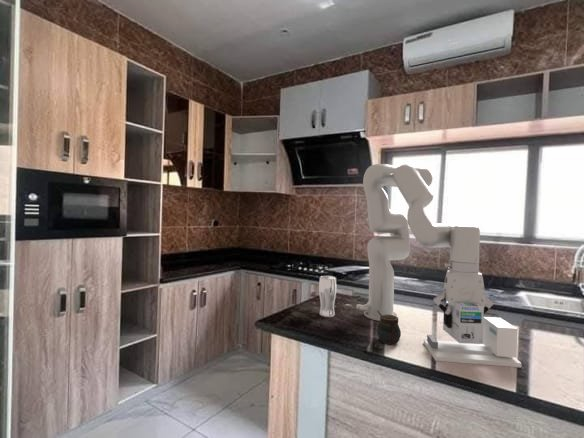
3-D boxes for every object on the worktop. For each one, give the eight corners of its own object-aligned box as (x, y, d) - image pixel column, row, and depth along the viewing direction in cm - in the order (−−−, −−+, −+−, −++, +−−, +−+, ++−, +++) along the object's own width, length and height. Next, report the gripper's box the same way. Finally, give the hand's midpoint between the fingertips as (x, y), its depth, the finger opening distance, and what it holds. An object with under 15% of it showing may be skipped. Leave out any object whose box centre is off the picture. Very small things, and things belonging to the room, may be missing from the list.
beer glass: (336, 317, 122) (337, 279, 122) (319, 317, 123) (319, 279, 122) (334, 312, 129) (335, 275, 129) (317, 311, 130) (318, 275, 129)
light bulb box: (483, 344, 87) (485, 306, 87) (459, 344, 87) (460, 305, 87) (463, 330, 98) (464, 295, 98) (441, 329, 98) (442, 295, 98)
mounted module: (496, 356, 87) (497, 327, 87) (481, 342, 96) (482, 316, 96) (516, 357, 87) (517, 328, 86) (499, 344, 96) (500, 317, 95)
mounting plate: (435, 360, 88) (435, 346, 88) (423, 343, 100) (424, 330, 100) (521, 367, 85) (521, 352, 85) (498, 348, 97) (498, 335, 97)
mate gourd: (405, 346, 98) (406, 314, 97) (382, 347, 96) (383, 314, 96) (394, 336, 105) (394, 307, 104) (372, 337, 103) (373, 307, 103)
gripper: (436, 268, 90) (434, 330, 90) (502, 271, 87) (500, 334, 88) (428, 264, 97) (427, 321, 98) (489, 266, 95) (487, 325, 95)
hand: (462, 327), depth 93 cm, fingers closed on light bulb box, 7 cm apart
